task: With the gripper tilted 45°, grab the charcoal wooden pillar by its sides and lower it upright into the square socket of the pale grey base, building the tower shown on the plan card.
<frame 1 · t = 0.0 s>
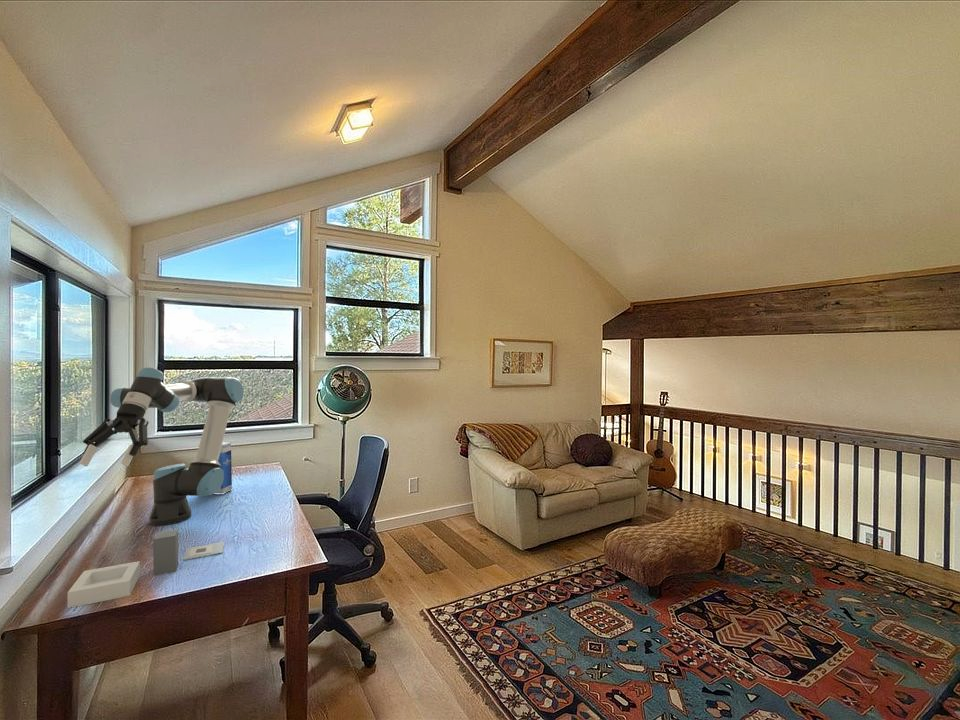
hand: (103, 464, 143), 36 cm above the table, tool tilted 35°, fingers open, 13 cm apart
socket base: (106, 590, 133), on the table
charcoal pillar: (166, 569, 146), on the table
plan card: (204, 551, 160), on the table
string lights box: (215, 493, 227), on the table
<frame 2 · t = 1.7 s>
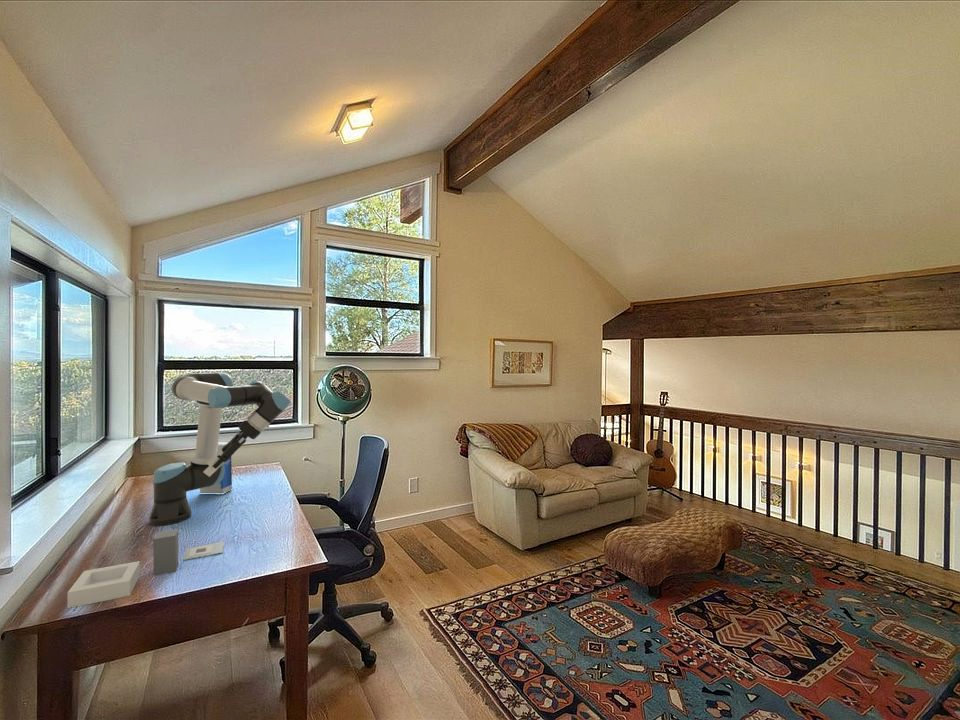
hand: (208, 469, 160), 30 cm above the table, tool tilted 45°, fingers open, 13 cm apart
nothing on the table moved.
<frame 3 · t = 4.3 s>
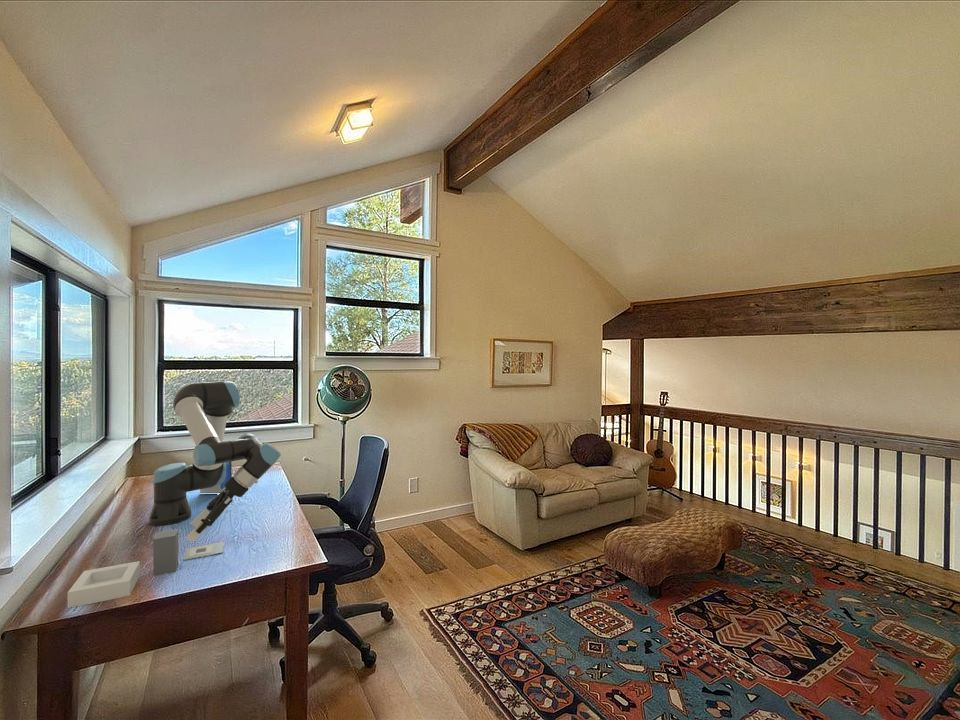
hand: (191, 532, 149), 11 cm above the table, tool tilted 45°, fingers open, 13 cm apart
nothing on the table moved.
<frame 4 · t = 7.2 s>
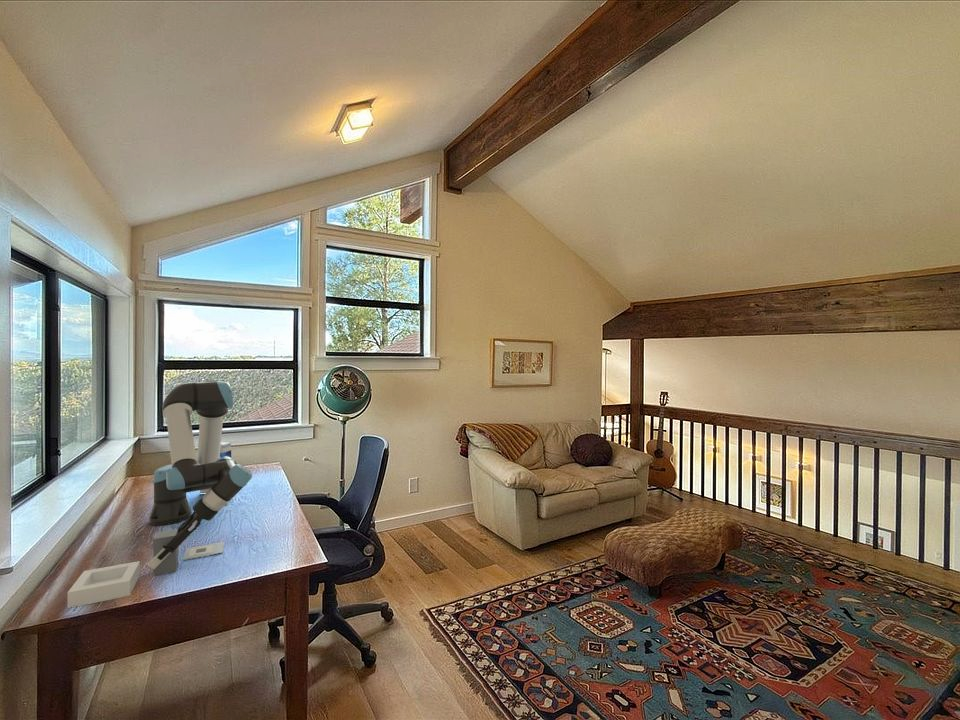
hand: (152, 561, 144), 3 cm above the table, tool tilted 45°, fingers closed on charcoal pillar, 6 cm apart
charcoal pillar: (166, 569, 146), on the table, touching gripper
everything else where it was.
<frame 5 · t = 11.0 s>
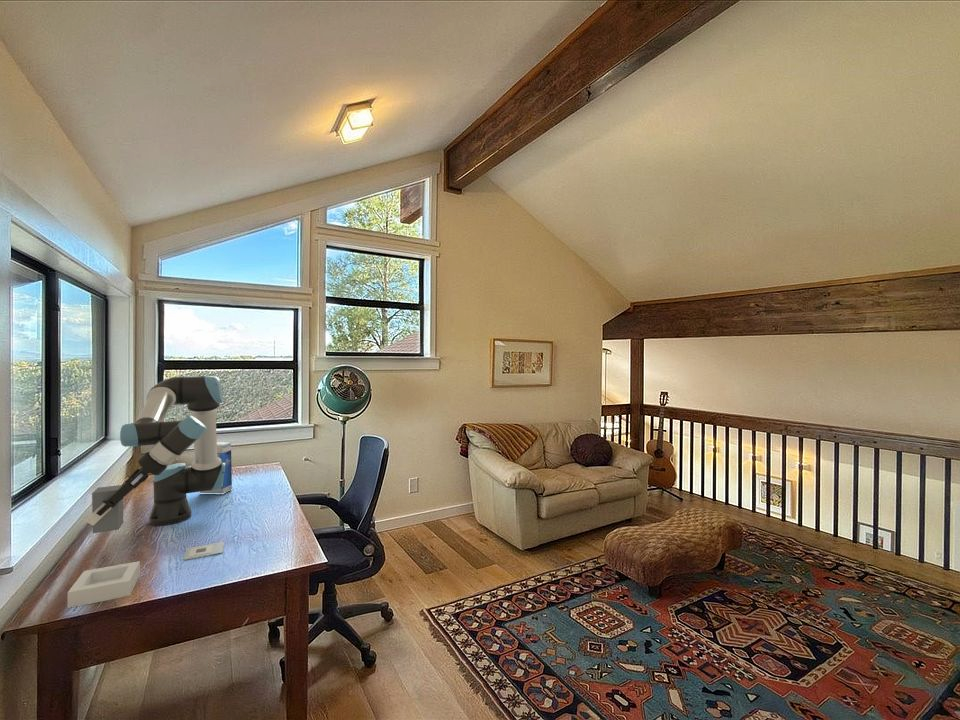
hand: (92, 518, 132), 22 cm above the table, tool tilted 45°, fingers closed on charcoal pillar, 6 cm apart
charcoal pillar: (108, 527, 133), point 19 cm above the table, touching gripper
everything else where it was.
when the fingers open (7 cm above the table, at t = 15.2 s): charcoal pillar drops 2 cm, resting on socket base.
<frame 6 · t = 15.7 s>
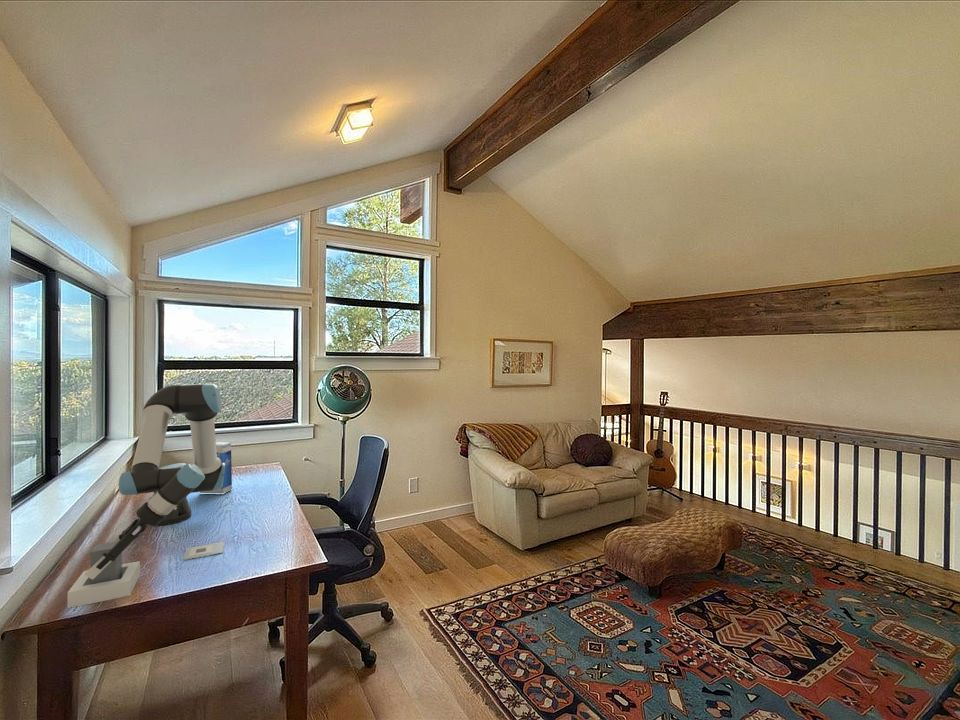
hand: (95, 566, 132), 8 cm above the table, tool tilted 45°, fingers open, 12 cm apart
charcoal pillar: (106, 585, 134), point 1 cm above the table, touching socket base
everything else where it was.
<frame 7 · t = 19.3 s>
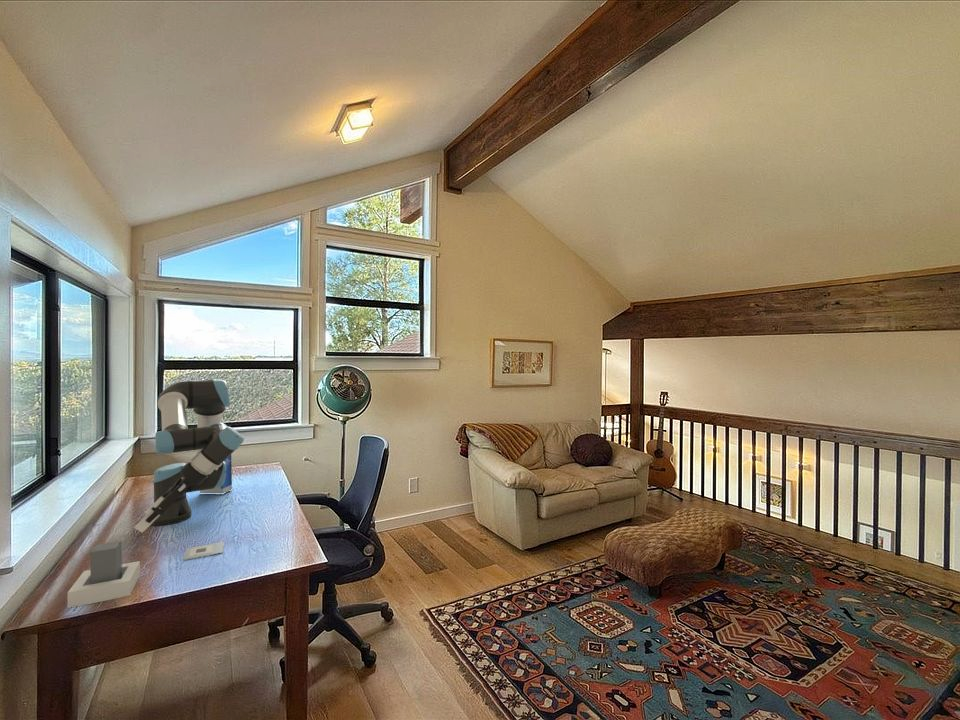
hand: (143, 522, 137), 19 cm above the table, tool tilted 45°, fingers open, 13 cm apart
nothing on the table moved.
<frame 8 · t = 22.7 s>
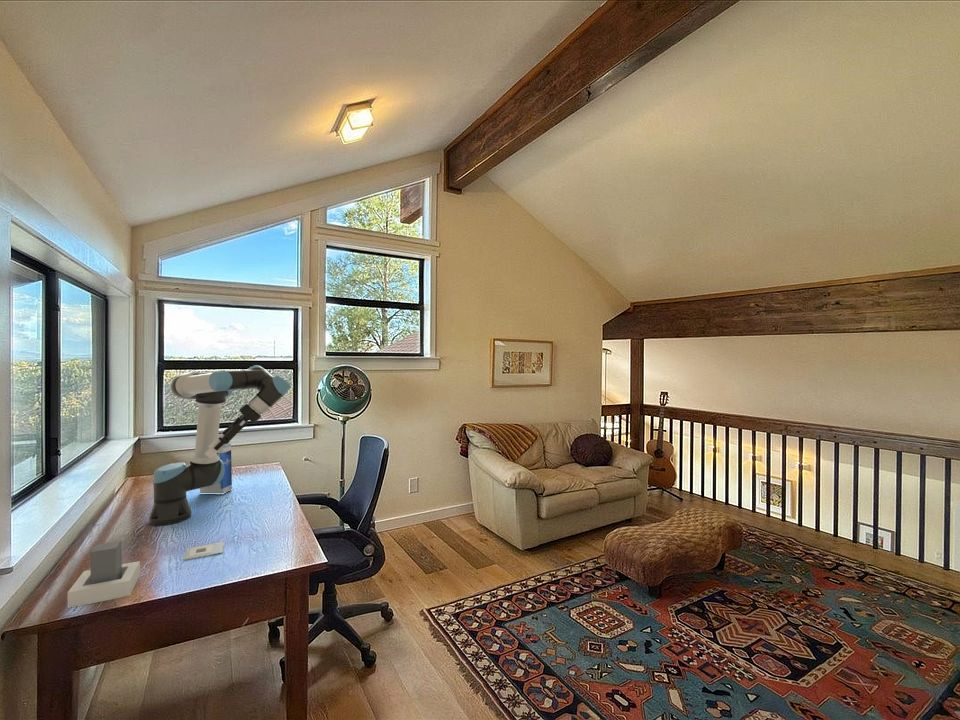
hand: (209, 452, 162), 36 cm above the table, tool tilted 45°, fingers open, 13 cm apart
nothing on the table moved.
at the end: charcoal pillar 0.1 cm off-centre on the socket base, point 1.5 cm above the socket base's base; charcoal pillar tilted 0°; the gripper is holding nothing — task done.
